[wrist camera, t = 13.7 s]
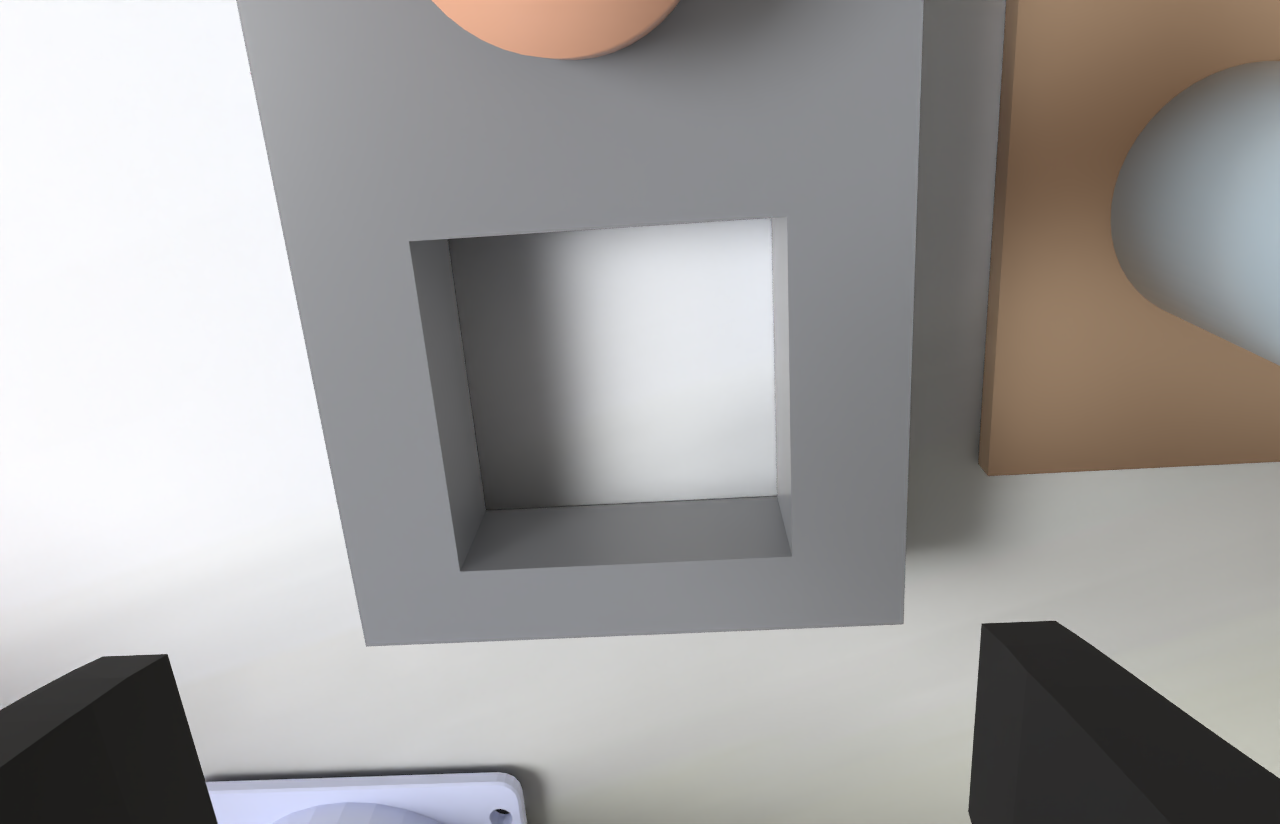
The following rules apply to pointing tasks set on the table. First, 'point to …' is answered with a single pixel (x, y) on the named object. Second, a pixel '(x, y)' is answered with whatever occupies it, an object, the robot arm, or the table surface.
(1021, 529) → the table surface
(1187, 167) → the cylinder
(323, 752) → the table surface
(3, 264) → the table surface
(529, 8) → the plunger
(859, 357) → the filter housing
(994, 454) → the walnut pad
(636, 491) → the table surface
